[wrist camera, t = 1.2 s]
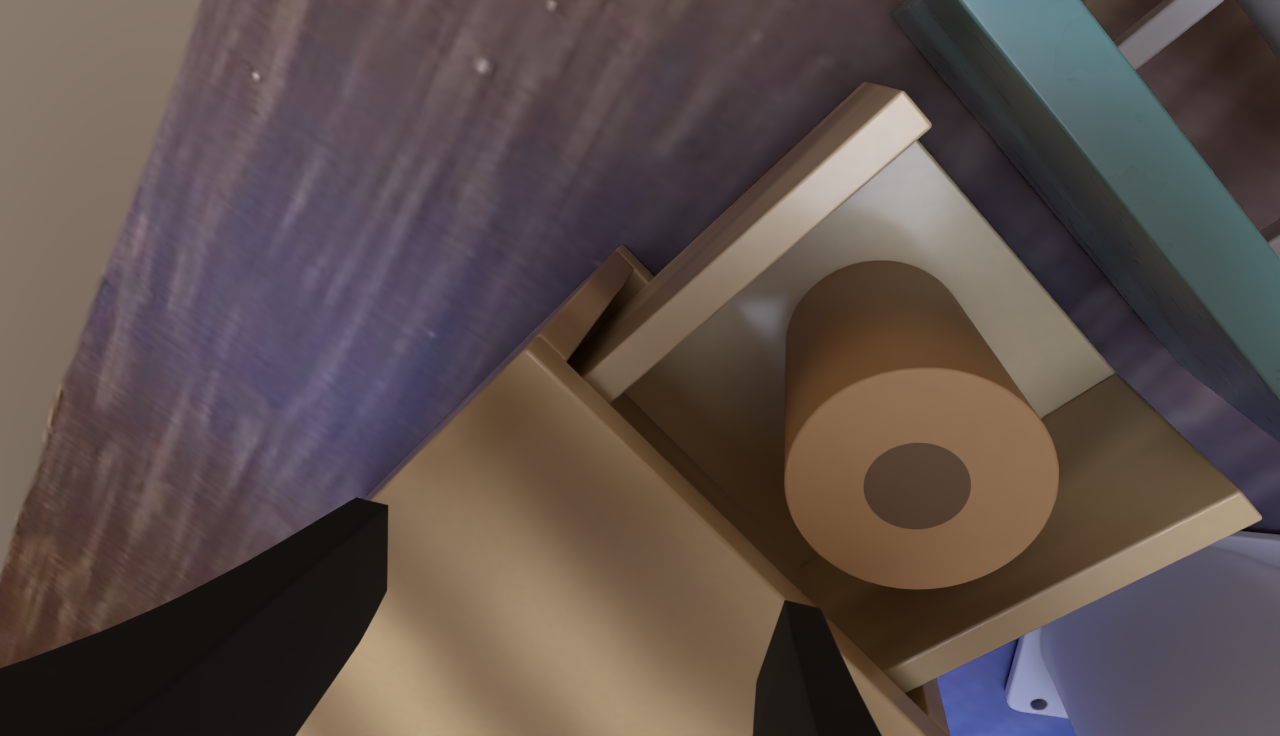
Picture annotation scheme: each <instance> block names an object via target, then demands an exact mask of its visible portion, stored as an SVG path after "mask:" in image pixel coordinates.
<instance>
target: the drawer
mask: <svg viewBox="0 0 1280 736" xmlns="http://www.w3.org/2000/svg"><path fill="white" fill-rule="evenodd" d="M1223 1H1225V0H1163V1H1162V2H1161V3H1159V4H1158V5H1157V6H1156V7H1154V8H1153V9H1152V10H1151V11H1149V12H1148V13H1147V14H1146V15H1145V16H1143V17H1142V18H1141V19H1140V20H1138V21H1137V22H1136V23H1135V24H1134V25H1132V26H1131V27H1130V28H1129V29H1127V30H1126V31H1125V32H1124V33H1123V34H1121V35H1120V36H1119V37H1118V38H1116V39H1115V40H1114V41H1112V39H1111V38H1110V37H1109V36H1108V34H1107V33H1106V32H1105V30H1104V29H1103V28H1102V26H1101V25H1100V24H1099V23H1098V21H1097V20H1096V19H1095V17H1094V16H1093V15H1092V13H1091V12H1090V11H1089V10H1088V8H1087V7H1086V6H1085V4H1084V3H1083V2H1082V0H905V1H904V2H903V3H902V4H901V5H900V6H899V7H898V8H897V9H896V10H895V11H894V12H893V13H892V15H891V16H892V18H893V19H894V20H895V21H896V23H897V24H898V25H899V26H900V27H901V29H902V30H903V31H904V32H905V34H906V35H907V36H908V37H909V38H910V40H911V41H912V42H913V43H914V44H915V46H916V47H917V48H918V49H919V50H920V52H921V53H922V54H923V55H924V56H925V58H926V59H927V60H928V61H929V63H930V64H931V65H932V66H933V67H934V69H935V70H936V71H937V72H938V73H939V75H940V76H941V77H942V78H943V79H944V81H945V82H946V83H947V84H948V86H949V87H950V88H951V89H952V90H953V92H954V93H955V94H956V95H957V96H958V98H959V99H960V100H961V101H962V102H963V104H964V105H965V106H966V107H967V108H968V110H969V111H970V112H971V113H972V115H973V116H974V117H975V118H976V119H977V121H978V122H979V123H980V124H981V125H982V127H983V128H984V129H985V130H986V131H987V133H988V134H989V135H990V136H991V138H992V139H993V140H994V141H995V142H996V144H997V145H998V146H999V147H1000V148H1001V150H1002V151H1003V152H1004V153H1005V154H1006V156H1007V157H1008V158H1009V159H1010V160H1011V162H1012V163H1013V164H1014V165H1015V167H1016V168H1017V169H1018V170H1019V171H1020V173H1021V174H1022V175H1023V176H1024V177H1025V179H1026V180H1027V181H1028V182H1029V183H1030V185H1031V186H1032V187H1033V188H1034V189H1035V191H1036V192H1037V193H1038V194H1039V196H1040V197H1041V198H1042V199H1043V200H1044V202H1045V203H1046V204H1047V205H1048V206H1049V208H1050V209H1051V210H1052V211H1053V212H1054V214H1055V215H1056V216H1057V217H1058V219H1059V220H1060V221H1061V222H1062V223H1063V225H1064V226H1065V227H1066V228H1067V229H1068V231H1069V232H1070V233H1071V234H1072V235H1073V237H1074V238H1075V239H1076V240H1077V241H1078V243H1079V244H1080V245H1081V246H1082V248H1083V249H1084V250H1085V251H1086V252H1087V254H1088V255H1089V256H1090V257H1091V258H1092V260H1093V261H1094V262H1095V263H1096V264H1097V266H1098V267H1099V268H1100V269H1101V271H1102V272H1103V273H1104V274H1105V275H1106V277H1107V278H1108V279H1109V280H1110V281H1111V283H1112V284H1113V285H1114V286H1115V287H1116V289H1117V290H1118V291H1119V292H1120V293H1121V295H1122V296H1123V297H1124V298H1125V300H1126V301H1127V302H1128V303H1129V304H1130V306H1131V307H1132V308H1133V309H1134V310H1135V312H1136V313H1137V314H1138V315H1139V316H1140V318H1141V319H1142V320H1143V321H1144V323H1145V324H1146V325H1147V326H1148V327H1149V329H1150V330H1151V331H1152V332H1153V333H1154V335H1155V336H1156V337H1157V338H1158V339H1159V341H1160V342H1161V343H1162V344H1163V345H1164V347H1165V348H1166V349H1167V350H1168V352H1169V353H1170V354H1171V355H1172V356H1173V358H1174V359H1175V360H1176V361H1177V362H1178V364H1179V365H1180V366H1182V367H1183V368H1184V369H1186V370H1187V371H1188V372H1189V373H1191V374H1192V375H1193V376H1195V377H1196V378H1197V379H1198V380H1200V381H1201V382H1202V383H1204V384H1205V385H1206V386H1207V387H1209V388H1210V389H1211V390H1213V391H1214V392H1215V393H1216V394H1218V395H1219V396H1220V397H1222V398H1223V399H1224V400H1225V401H1227V402H1228V403H1229V404H1231V405H1232V406H1233V407H1234V408H1236V409H1237V410H1238V411H1240V412H1241V413H1242V414H1243V415H1245V416H1246V417H1247V418H1249V419H1250V420H1251V421H1252V422H1254V423H1255V424H1256V425H1258V426H1259V427H1260V428H1261V429H1263V430H1264V431H1265V432H1267V433H1268V434H1269V435H1270V436H1272V437H1273V438H1274V439H1276V440H1277V441H1278V442H1280V219H1279V220H1277V221H1276V222H1274V223H1272V224H1271V225H1269V226H1268V227H1266V228H1265V229H1263V230H1262V231H1260V232H1259V231H1258V229H1257V228H1256V227H1255V225H1254V224H1253V223H1252V222H1251V220H1250V219H1249V218H1248V216H1247V215H1246V214H1245V212H1244V211H1243V210H1242V209H1241V207H1240V206H1239V205H1238V203H1237V202H1236V201H1235V199H1234V198H1233V197H1232V196H1231V194H1230V193H1229V192H1228V190H1227V189H1226V188H1225V186H1224V185H1223V184H1222V182H1221V181H1220V180H1219V179H1218V177H1217V176H1216V175H1215V173H1214V172H1213V171H1212V169H1211V168H1210V167H1209V166H1208V164H1207V163H1206V162H1205V160H1204V159H1203V158H1202V156H1201V155H1200V154H1199V153H1198V151H1197V150H1196V149H1195V147H1194V146H1193V145H1192V143H1191V142H1190V141H1189V140H1188V138H1187V137H1186V136H1185V134H1184V133H1183V132H1182V130H1181V129H1180V128H1179V127H1178V125H1177V124H1176V123H1175V121H1174V120H1173V119H1172V117H1171V116H1170V115H1169V114H1168V112H1167V111H1166V110H1165V108H1164V107H1163V106H1162V104H1161V103H1160V102H1159V101H1158V99H1157V98H1156V97H1155V95H1154V94H1153V93H1152V91H1151V90H1150V89H1149V88H1148V86H1147V85H1146V84H1145V82H1144V81H1143V80H1142V78H1141V77H1140V76H1139V75H1138V73H1137V72H1136V70H1137V69H1138V68H1140V67H1141V66H1142V65H1143V64H1145V63H1146V62H1147V61H1148V60H1150V59H1151V58H1152V57H1154V56H1155V55H1156V54H1157V53H1159V52H1160V51H1161V50H1162V49H1164V48H1165V47H1166V46H1167V45H1169V44H1170V43H1171V42H1173V41H1174V40H1175V39H1176V38H1178V37H1179V36H1180V35H1181V34H1183V33H1184V32H1185V31H1186V30H1188V29H1189V28H1190V27H1192V26H1193V25H1194V24H1195V23H1197V22H1198V21H1199V20H1200V19H1202V18H1203V17H1204V16H1205V15H1207V14H1208V13H1209V12H1211V11H1212V10H1213V9H1214V8H1216V7H1217V6H1218V5H1219V4H1221V3H1222V2H1223ZM1236 1H1237V2H1238V4H1239V5H1240V7H1241V8H1242V9H1243V11H1244V12H1245V13H1246V15H1247V16H1248V18H1249V19H1250V20H1251V22H1252V23H1253V24H1254V26H1255V27H1256V29H1257V30H1258V31H1259V33H1260V34H1261V35H1262V37H1263V38H1264V40H1265V41H1266V42H1267V44H1268V45H1269V47H1270V48H1271V49H1272V51H1273V52H1274V53H1275V55H1276V56H1277V58H1278V59H1279V60H1280V0H1236ZM931 127H932V124H931V122H930V121H929V120H928V118H927V117H926V116H925V115H924V114H923V112H922V111H921V110H920V109H919V108H918V106H917V105H916V104H915V103H914V102H913V101H912V99H911V98H910V97H909V96H908V95H907V93H906V92H904V91H902V90H898V89H894V88H890V87H886V86H882V85H879V84H875V83H871V82H863V83H862V84H861V85H860V86H859V87H858V88H856V89H855V90H854V91H853V92H852V93H851V94H850V95H849V96H848V97H847V98H846V99H845V100H844V101H843V102H841V103H840V104H839V105H838V106H837V107H836V108H835V109H834V110H833V111H832V112H831V113H830V114H829V115H828V116H826V117H825V118H824V119H823V120H822V121H821V122H820V123H819V124H818V125H817V126H816V127H815V128H814V129H813V130H811V131H810V132H809V133H808V134H807V135H806V136H805V137H804V138H803V139H802V140H801V141H800V142H799V143H797V144H796V145H795V146H794V147H793V148H792V149H791V150H790V151H789V152H788V153H787V154H786V155H785V156H784V157H782V158H781V159H780V160H779V161H778V162H777V163H776V164H775V165H774V166H773V167H772V168H771V169H770V170H769V171H767V172H766V173H765V174H764V175H763V176H762V177H761V178H760V179H759V180H758V181H757V182H756V183H755V184H754V185H752V186H751V187H750V188H749V189H748V190H747V191H746V192H745V193H744V194H743V195H742V196H741V197H740V198H739V199H737V200H736V201H735V202H734V203H733V204H732V205H731V206H730V207H729V208H728V209H727V210H726V211H725V212H724V213H722V214H721V215H720V216H719V217H718V218H717V219H716V220H715V221H714V222H713V223H712V224H711V225H710V226H709V227H707V228H706V229H705V230H704V231H703V232H702V233H701V234H700V235H699V236H698V237H697V238H696V239H695V240H694V241H692V242H691V243H690V244H689V245H688V246H687V247H686V248H685V249H684V250H683V251H682V252H681V253H680V254H679V255H677V256H676V257H675V258H674V259H673V260H672V261H671V262H670V263H669V264H668V265H667V266H666V267H665V268H664V269H662V270H661V271H660V272H659V273H658V274H657V275H656V276H655V277H654V278H653V279H652V280H651V281H650V282H649V283H647V284H646V285H645V286H644V287H643V288H642V289H641V290H640V291H639V292H638V293H637V294H636V295H635V296H634V297H632V298H631V299H630V300H629V301H628V302H627V303H626V304H625V305H624V306H623V307H622V308H621V309H620V310H618V311H617V312H616V313H615V314H614V315H613V316H612V317H611V318H610V319H609V320H608V321H607V322H606V323H605V324H603V325H602V326H601V327H600V328H599V329H598V330H597V331H596V332H595V333H594V334H593V335H592V336H591V337H590V338H588V339H587V340H586V341H585V342H584V343H583V344H582V345H581V346H580V347H579V348H578V349H577V350H576V351H575V352H573V354H572V355H571V356H570V358H569V359H568V360H567V363H568V364H569V365H570V366H571V367H572V368H573V369H574V370H575V371H576V372H577V373H578V374H579V375H580V376H581V377H582V378H583V379H584V380H585V381H586V382H587V383H588V384H589V385H590V386H591V387H592V388H593V389H594V390H595V391H596V392H597V393H598V394H599V395H600V396H601V397H602V398H603V399H605V400H606V401H607V402H608V403H609V404H610V405H611V406H612V407H613V408H614V409H615V410H616V411H617V412H618V413H619V414H620V415H621V416H622V417H623V418H624V419H625V420H626V421H627V422H628V423H629V424H630V425H631V426H632V427H633V428H634V429H635V430H636V431H637V432H638V433H639V434H640V435H641V436H642V437H643V438H644V439H645V440H646V441H647V442H648V443H649V444H650V445H652V446H653V447H654V448H655V449H656V450H657V451H658V452H659V453H660V454H661V455H662V456H663V457H664V458H665V459H666V460H667V461H668V462H669V463H670V464H671V465H672V466H673V467H674V468H675V469H676V470H677V471H678V472H679V473H680V474H681V475H682V476H683V477H684V478H685V479H686V480H687V481H688V482H689V483H690V484H691V485H692V486H693V487H694V488H695V489H696V490H697V491H699V492H700V493H701V494H702V495H703V496H704V497H705V498H706V499H707V500H708V501H709V502H710V503H711V504H712V505H713V506H714V507H715V508H716V509H717V510H718V511H719V512H720V513H721V514H722V515H723V516H724V517H725V518H726V519H727V520H728V521H729V522H730V523H731V524H732V525H733V526H734V527H735V528H736V529H737V530H738V531H739V532H740V533H741V534H742V535H743V536H744V537H746V538H747V539H748V540H749V541H750V542H751V543H752V544H753V545H754V546H755V547H756V548H757V549H758V550H759V551H760V552H761V553H762V554H763V555H764V556H765V557H766V558H767V559H768V560H769V561H770V562H771V563H772V564H773V565H774V566H775V567H776V568H777V569H778V570H779V571H780V572H781V573H782V574H783V575H784V576H785V577H786V578H787V579H788V580H789V581H790V582H791V583H793V584H794V585H795V586H796V587H797V588H798V589H799V590H800V591H801V592H802V593H803V594H804V595H805V596H806V597H807V598H808V599H809V600H810V601H811V602H812V603H813V604H814V605H815V606H816V607H817V608H820V609H821V611H822V612H823V614H824V615H825V616H826V617H827V618H828V619H829V620H830V621H831V622H832V623H833V624H834V625H835V626H836V627H837V628H838V629H840V630H841V631H842V632H843V633H844V634H845V635H846V636H847V637H848V638H849V639H850V640H851V641H852V642H853V643H854V644H855V645H856V646H857V647H858V648H859V649H860V650H861V651H862V652H863V653H864V654H865V655H866V656H867V657H868V658H869V659H870V660H871V661H872V662H873V663H874V664H875V665H876V666H877V667H878V668H879V669H880V670H881V671H882V672H883V673H884V674H885V675H886V676H888V677H889V678H890V679H891V680H892V681H893V682H894V683H895V684H896V685H897V686H898V687H899V688H900V689H901V690H902V691H903V692H904V693H906V692H908V691H910V690H912V689H915V688H917V687H919V686H921V685H923V684H925V683H927V682H929V681H931V680H933V679H935V678H937V677H939V676H941V675H943V674H945V673H947V672H950V671H952V670H954V669H956V668H958V667H960V666H962V665H964V664H966V663H968V662H970V661H972V660H974V659H976V658H978V657H980V656H982V655H985V654H987V653H989V652H991V651H993V650H995V649H997V648H999V647H1001V646H1003V645H1005V644H1007V643H1009V642H1011V641H1013V640H1015V639H1018V638H1020V637H1022V636H1024V635H1026V634H1028V633H1030V632H1032V631H1034V630H1036V629H1038V628H1040V627H1042V626H1044V625H1046V624H1048V623H1050V622H1053V621H1055V620H1057V619H1059V618H1061V617H1063V616H1065V615H1067V614H1069V613H1071V612H1073V611H1075V610H1077V609H1079V608H1081V607H1083V606H1086V605H1088V604H1090V603H1092V602H1094V601H1096V600H1098V599H1100V598H1102V597H1104V596H1106V595H1108V594H1110V593H1112V592H1114V591H1116V590H1118V589H1121V588H1123V587H1125V586H1127V585H1129V584H1131V583H1133V582H1135V581H1137V580H1139V579H1141V578H1143V577H1145V576H1147V575H1149V574H1151V573H1154V572H1156V571H1158V570H1160V569H1162V568H1164V567H1166V566H1168V565H1170V564H1172V563H1174V562H1176V561H1178V560H1180V559H1182V558H1184V557H1186V556H1189V555H1191V554H1193V553H1195V552H1197V551H1199V550H1201V549H1203V548H1205V547H1207V546H1209V545H1211V544H1213V543H1215V542H1217V541H1219V540H1222V539H1224V538H1226V537H1228V536H1230V535H1232V534H1234V533H1236V532H1238V531H1240V530H1242V529H1244V528H1246V527H1248V526H1250V525H1252V524H1254V523H1257V522H1259V521H1261V520H1262V516H1261V514H1260V513H1259V512H1258V511H1257V509H1256V508H1255V507H1254V506H1253V505H1252V504H1251V502H1250V501H1249V500H1248V499H1247V498H1246V496H1245V495H1244V494H1243V493H1242V492H1241V491H1240V490H1239V489H1238V488H1237V487H1236V486H1235V485H1234V484H1233V483H1232V482H1231V481H1230V480H1229V479H1228V478H1227V477H1226V476H1225V475H1223V474H1222V473H1221V472H1220V471H1219V470H1218V469H1217V468H1216V467H1215V466H1214V465H1213V464H1212V463H1211V462H1210V461H1209V460H1208V459H1207V458H1206V457H1205V456H1203V455H1202V454H1201V453H1200V452H1199V451H1198V450H1197V449H1196V448H1195V447H1194V446H1193V445H1192V444H1191V443H1190V442H1189V441H1188V440H1187V439H1186V438H1185V437H1183V436H1182V435H1181V434H1180V433H1179V432H1178V431H1177V430H1176V429H1175V428H1174V427H1173V426H1172V425H1171V424H1170V423H1169V422H1168V421H1167V420H1166V419H1165V418H1163V417H1162V416H1161V415H1160V414H1159V413H1158V412H1157V411H1156V410H1155V409H1154V408H1153V407H1152V406H1151V405H1150V404H1149V403H1148V402H1147V401H1146V400H1145V399H1144V398H1142V397H1141V396H1140V395H1139V394H1138V393H1137V392H1136V391H1135V390H1134V389H1133V388H1132V387H1131V386H1130V385H1129V384H1128V383H1127V382H1126V381H1125V380H1124V379H1122V378H1121V377H1120V376H1119V375H1118V374H1117V373H1116V372H1115V371H1114V369H1113V368H1112V367H1111V366H1110V365H1109V364H1108V362H1107V361H1106V360H1105V359H1104V358H1103V356H1102V355H1101V354H1100V353H1099V352H1098V351H1097V349H1096V348H1095V347H1094V346H1093V345H1092V344H1091V342H1090V341H1089V340H1088V339H1087V338H1086V336H1085V335H1084V334H1083V333H1082V332H1081V331H1080V329H1079V328H1078V327H1077V326H1076V325H1075V323H1074V322H1073V321H1072V320H1071V319H1070V318H1069V316H1068V315H1067V314H1066V313H1065V312H1064V311H1063V309H1062V308H1061V307H1060V306H1059V305H1058V303H1057V302H1056V301H1055V300H1054V299H1053V298H1052V296H1051V295H1050V294H1049V293H1048V292H1047V291H1046V289H1045V288H1044V287H1043V286H1042V285H1041V283H1040V282H1039V281H1038V280H1037V279H1036V278H1035V276H1034V275H1033V274H1032V273H1031V272H1030V271H1029V269H1028V268H1027V267H1026V266H1025V265H1024V263H1023V262H1022V261H1021V260H1020V259H1019V258H1018V256H1017V255H1016V254H1015V253H1014V252H1013V250H1012V249H1011V248H1010V247H1009V246H1008V245H1007V243H1006V242H1005V241H1004V240H1003V239H1002V238H1001V236H1000V235H999V234H998V233H997V232H996V230H995V229H994V228H993V227H992V226H991V225H990V223H989V222H988V221H987V220H986V219H985V218H984V216H983V215H982V214H981V213H980V212H979V210H978V209H977V208H976V207H975V206H974V205H973V203H972V202H971V201H970V200H969V199H968V198H967V196H966V195H965V194H964V193H963V192H962V190H961V189H960V188H959V187H958V186H957V185H956V183H955V182H954V181H953V180H952V179H951V177H950V176H949V175H948V174H947V173H946V172H945V170H944V169H943V168H942V167H941V166H940V165H939V163H938V162H937V161H936V160H935V159H934V157H933V156H932V155H931V154H930V153H929V152H928V150H927V149H926V148H925V147H924V146H923V145H922V143H921V142H920V141H919V140H918V139H919V138H920V137H921V136H922V135H924V134H925V133H926V132H927V131H928V130H929V129H930V128H931ZM869 261H893V262H900V263H904V264H909V265H912V266H914V267H917V268H920V269H922V270H924V271H926V272H927V273H929V274H931V275H933V276H934V277H935V278H937V279H938V280H939V281H941V282H942V283H943V284H944V285H945V286H946V287H947V288H948V289H949V290H950V292H951V293H952V294H953V296H954V297H955V298H956V300H957V301H958V302H959V304H960V305H961V307H962V308H963V309H964V311H965V312H966V314H967V315H968V317H969V318H970V319H971V321H972V322H973V324H974V325H975V327H976V328H977V329H978V331H979V332H980V334H981V335H982V336H983V338H984V339H985V341H986V342H987V344H988V345H989V346H990V348H991V349H992V351H993V352H994V354H995V355H996V356H997V358H998V359H999V361H1000V362H1001V364H1002V365H1003V366H1004V368H1005V369H1006V371H1007V372H1008V373H1009V375H1010V376H1011V378H1012V379H1013V381H1014V382H1015V383H1016V385H1017V386H1018V388H1019V389H1020V391H1021V392H1022V393H1023V395H1024V396H1025V398H1026V399H1027V400H1028V402H1029V403H1030V405H1031V406H1032V408H1033V409H1034V410H1035V412H1036V413H1037V415H1038V416H1039V418H1040V419H1041V420H1042V422H1043V423H1044V425H1045V427H1046V428H1047V430H1048V432H1049V434H1050V436H1051V438H1052V440H1053V443H1054V446H1055V449H1056V452H1057V458H1058V464H1059V485H1058V491H1057V496H1056V501H1055V503H1054V506H1053V509H1052V512H1051V514H1050V516H1049V518H1048V520H1047V522H1046V524H1045V525H1044V527H1043V529H1042V530H1041V531H1040V533H1039V534H1038V535H1037V537H1036V538H1035V539H1034V541H1033V542H1032V543H1031V544H1030V545H1029V546H1028V547H1027V548H1026V549H1025V550H1024V551H1023V552H1022V553H1020V554H1019V555H1018V556H1017V557H1015V558H1014V559H1013V560H1012V561H1010V562H1009V563H1007V564H1005V565H1004V566H1002V567H1001V568H999V569H997V570H996V571H994V572H991V573H989V574H987V575H985V576H983V577H981V578H978V579H975V580H972V581H969V582H966V583H963V584H958V585H954V586H950V587H943V588H935V589H901V588H894V587H888V586H882V585H878V584H875V583H871V582H868V581H865V580H862V579H860V578H857V577H855V576H852V575H850V574H848V573H846V572H845V571H843V570H841V569H839V568H837V567H836V566H834V565H833V564H831V563H830V562H828V561H827V560H826V559H824V558H823V557H822V556H821V555H820V554H819V553H818V552H816V551H815V550H814V549H813V547H812V546H811V545H810V544H809V543H808V542H807V541H806V540H805V538H804V537H803V535H802V534H801V532H800V531H799V529H798V528H797V526H796V524H795V522H794V520H793V518H792V516H791V514H790V511H789V508H788V504H787V501H786V495H785V488H784V462H785V376H786V336H787V329H788V326H789V323H790V319H791V317H792V315H793V313H794V311H795V309H796V307H797V306H798V304H799V302H800V301H801V299H802V298H803V297H804V296H805V295H806V293H807V292H808V291H809V290H810V289H811V288H812V287H813V286H814V285H816V284H817V283H818V282H819V281H821V280H822V279H823V278H825V277H826V276H828V275H830V274H832V273H833V272H835V271H837V270H840V269H842V268H845V267H847V266H850V265H854V264H857V263H862V262H869Z"/></svg>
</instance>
